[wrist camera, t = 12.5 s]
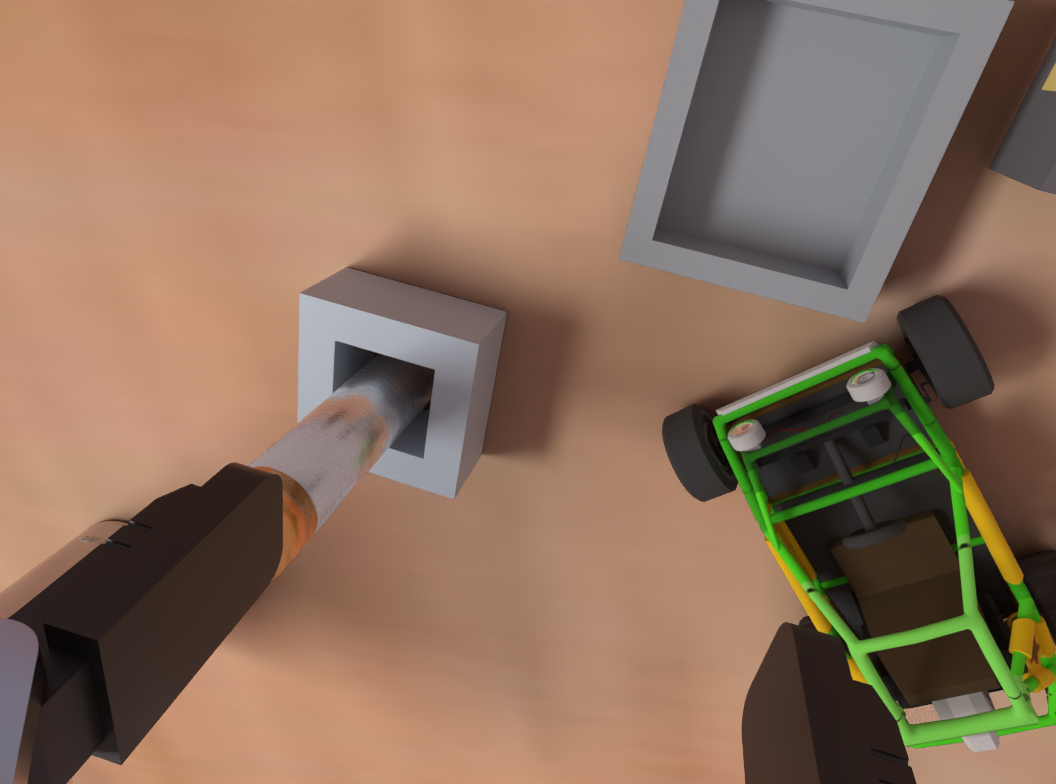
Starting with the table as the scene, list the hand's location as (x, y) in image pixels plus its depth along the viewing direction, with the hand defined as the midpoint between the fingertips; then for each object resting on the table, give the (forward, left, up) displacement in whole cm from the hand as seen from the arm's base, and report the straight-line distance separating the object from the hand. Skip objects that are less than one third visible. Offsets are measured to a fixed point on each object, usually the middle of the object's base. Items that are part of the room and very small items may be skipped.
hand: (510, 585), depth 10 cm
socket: (-8, +9, -20) cm, 23 cm away
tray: (+6, -4, -20) cm, 21 cm away
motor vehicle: (-8, -13, -20) cm, 25 cm away
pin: (-8, +9, -20) cm, 23 cm away
